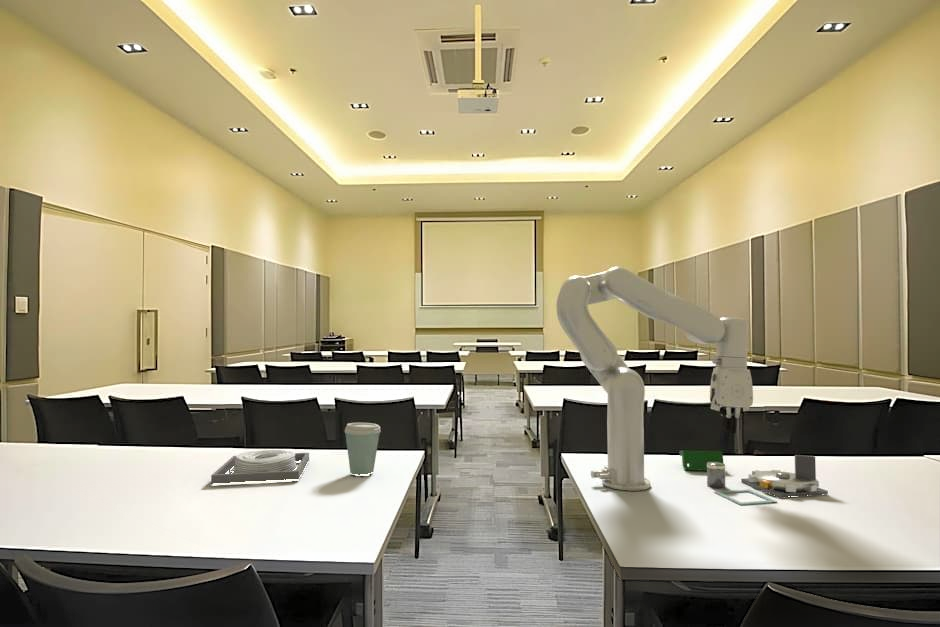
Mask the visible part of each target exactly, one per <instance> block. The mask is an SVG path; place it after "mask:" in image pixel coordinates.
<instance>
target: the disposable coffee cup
mask: <svg viewBox="0 0 940 627" xmlns="http://www.w3.org/2000/svg"><path fill="white" fill-rule="evenodd" d="M344 433H345V441H346V448H347V455H348V456H347V458H348V465H349V472H350V474H351V473H352V474H358V475H360V474H368V473H371V472H373V473H374V469H375V463H376V458H377V457H376V456H377V453H378V446H379V445H378V444H379V438H380V433H381V426H380V425H379V424H377V423H370V422H351V423H347V424H346V426H345V429H344Z"/></svg>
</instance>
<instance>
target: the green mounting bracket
mask: <svg viewBox="0 0 940 627" xmlns="http://www.w3.org/2000/svg"><path fill="white" fill-rule="evenodd" d="M679 456H680V457H681V460H682V461H681V462H682V467H683V468H684V470H686V471H706V472H707V463H708V462H719V463H723V464H725V463H724V455H723V451H718V450H717V451H715V450H713V451H712V450H710V451H709V450H679Z"/></svg>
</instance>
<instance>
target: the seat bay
mask: <svg viewBox="0 0 940 627" xmlns="http://www.w3.org/2000/svg"><path fill="white" fill-rule="evenodd" d="M736 493H737V494H738V493H739V494H740V493H750V494H752V495H754V494H755V495H754V496H756V495H757V497H759V496H760V497H759V498H761V497H762V498H761V499H763V498H765V499H767V500H765V499H764V500H759V501H755V500H754V501H744V502H741V501H739V500H737V499H735V498H733V497H731V496H729V495H726V494H736ZM714 494H717V495H718V496H719V497H720V496H721V497H722V498H725V499H727V500H728V501H730V500H731V502H732V501H733V502H732V503H734V502H735V503H734V504H736V505H739V506H749V505H750V506H751V505H752V506H753V505H763V503H767V504H773V503H772V502H777V503H778V501H777V500H775V499H772V498H770V497H767V496H765V495H764V494H761V493H758V492H756V491H753V490H751V489H733V490H719V491H717V490H716V491H714ZM768 500H769V501H768Z"/></svg>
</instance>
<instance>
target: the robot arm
mask: <svg viewBox="0 0 940 627" xmlns="http://www.w3.org/2000/svg"><path fill="white" fill-rule="evenodd" d="M614 299H615V300H617V301H618V302H620V303H622V304H625V305H626V306H628V307H629V308H631V309H633V310H635V311H637V312H638V313H640V314H642V315H643V316H644V317H647V318H649V319H652V320H655V321H658V322H662V323H666V324H667V325H670V326H673V327H675V328H677V329H679V330H681V331H683V332H684V334H685V337H686V338H687V339H688V340H689V341H691V342H692V343H695V344H703V345H713V344H715V345H716V346H715V348H716V349H715V358H712V360H711V362H712V364H713V365H715V367H713V369H712V370H713V371H712V373H711V379H710V387H709V402H710V403H711V404H710V409H711V410H714V411H717V412H718V413H719V414H720V416H722V430H723V431H722V432H724V433H728V434H737V428H738V425H737V424H738V418H740V415H741V414H742V412H746V411H749V410H750V407H751V406H753V403H754V389H753V379H752V375H751V369H748V338H749V337H748V336H749V334H748V332H749V331H748V330H749V324H748V323H749V322H748V320H746V319H745V318H742V317H720V318H719V317H718V316H716V315H715V314H713V313H712V312H710V311H708V310H706V309H705V308H702V307H701V306H699V305H697V304H695V303H693V302H691V301H689V300H687V299H685V298H682V297H680V296H678V295H676V294H674V293H671V292H669V291H667V290H665V289H663V288H661V287H659V286H657V285H655V284H654V283H652V282H650V281H649V280H647V279H645V278H643V277H641V276H639V275H638V274H636V273H634V272H632V271H630V270H629V269H627V268H624V267H621V266H614V267H611V268H608V270H606V271H603V272H599V273H596V274H591V275H587V276H581V275H573V276H569V277H568V278H566V279H565V280H564V281H563V282H562V284H561V287H560V289H559V292H558V294H557V298H556V305H555V306H556V307H555V308H556V317H557V320H558V322H559V325H560V326H561V328H562V330H563V332H564V333H565V334H566V336H567V337H568V338H569V340H570V342H571V343H572V345H573V346H574V347H575V349H576V350H577V351H578V352H579V354H580V355H579V356H580V359H581V361H582V362H583V363H584V365H585V367H586V369H588V371H589V372H590V373H591V374H592V376H593V377H594V378H595V379H596V380H597V382H598V383H599V385H600V386H601V388H602V389H603V390H604V391H605V393H606V394H607V408H606V409H607V410H606V411H607V412H606V413H607V414H606V420H607V421H606V426H607V427H606V430H607V431H606V432H607V465H604V468H602V469H601V470H591V471H590V476H591V478H592V479H596V478H599V480H602V484H603V485H604V486H606V487H607V488H611V489H613V490H619V491H626V490H627V491H628V492H629V491H630V492H631V491H633V492H634V491H636V492H637V491H644V490H645V491H646V490H647V489H649V488H650V487H651V481H650V480H649V478H646V477H645V441H644V439H645V437H644V436H645V435H644V434H645V432H644V411H645V410H644V407H645V397H646V394H645V392H646V391H645V390H646V389H645V388H646V387H645V384H644V383H645V382H644V380H643V378H642V376H641V375H640V374H639V373H638V372H637V371H636V370H633V369H631V368H630V367H629V366H628V365H627V363H625V361H624V360H623V359H622V357H621V356H620V355H619V353H618V350H617V347H616V345H615V344H614V343H613V341H612V340H610V338H609V337H607V335H606V334H605V332H604V331H603V330H602V329H601V327H600V326H599V325H598V324H597V322H596V320H595V319H594V318H593V317H592V315H591V313H590V311H589V306H590V305H594V304H599V303H603V302H608V301H611V300H614Z"/></svg>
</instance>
